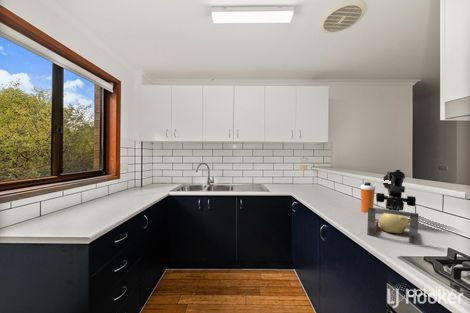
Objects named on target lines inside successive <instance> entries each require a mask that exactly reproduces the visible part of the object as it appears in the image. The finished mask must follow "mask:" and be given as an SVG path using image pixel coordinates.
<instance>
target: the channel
mask: <svg viewBox="0 0 470 313" xmlns="http://www.w3.org/2000/svg"><path fill="white" fill-rule="evenodd" d="M376 213H382V214H384V213H388V214H395V215H402V216H405V217H409V225H408V227H409V228H408V229H409V231H408V232H409V234H408V235H409V237H408V238H409V239H408V242H409V243H410V244H413V245H418V239H419V238H418V236H419V213H417V212H410V211H403V210H399V211H395V210H388V209H386V208H380V207H379V208H378V207H374V206H373V207H368V213H367V230H366V231H367V232H366V233H367V234H366V235H367V236H371V237H374V236H375V235H376V233H377V230H378V228H379V223H380V222H379V220H380V218H379V219H378V218H376Z"/></svg>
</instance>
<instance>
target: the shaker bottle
mask: <svg viewBox="0 0 470 313" xmlns="http://www.w3.org/2000/svg"><path fill="white" fill-rule="evenodd" d="M375 190H376V186H375V185H373V184H372V182H369V181H367V182H364V183H363V184H361V185H360V207H361V209H360V211H361V212H362V213H366V214H368V207H373V208H374V202H375Z"/></svg>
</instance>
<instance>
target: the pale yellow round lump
mask: <svg viewBox="0 0 470 313" xmlns="http://www.w3.org/2000/svg"><path fill="white" fill-rule="evenodd" d="M409 222H410V219H409V218H408V216H402V215H395V214H388V213H382V215H380V218H379V222H378V223H379V226H380V228H381V229H382V231H384V232H387V233H391V234H392V233H393V234H403V233H404V231H405V230H406V229H407V228H408V227H409Z"/></svg>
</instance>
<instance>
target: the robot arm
mask: <svg viewBox="0 0 470 313" xmlns="http://www.w3.org/2000/svg"><path fill="white" fill-rule="evenodd" d="M405 175H406V174H405V173H404V172H402V171H401V169H395V171H387V172H386V175H384V176H383V179H382V181H383V180H384V181H385V180H389V181H391V184H388V183H383V182H382V185H383V187H384V188H385V189H386V190H387V192H388V195H387V196H386V195H385V193H381V192H377V193H376V195H375V197H376V202H377V203H384V202H385V209H388V210H395V211H403V210H404V206H405V203H406V205H407V206H408V207H416V202H417V198H416V196H413V195H406V197H403V196H402V193H404V194H405V190H406V186H404V185H403V184H404V180H405V179H406V176H405Z"/></svg>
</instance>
